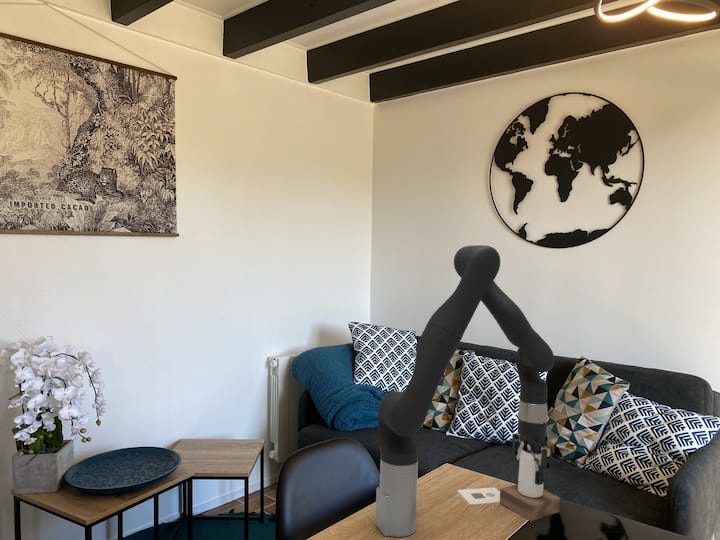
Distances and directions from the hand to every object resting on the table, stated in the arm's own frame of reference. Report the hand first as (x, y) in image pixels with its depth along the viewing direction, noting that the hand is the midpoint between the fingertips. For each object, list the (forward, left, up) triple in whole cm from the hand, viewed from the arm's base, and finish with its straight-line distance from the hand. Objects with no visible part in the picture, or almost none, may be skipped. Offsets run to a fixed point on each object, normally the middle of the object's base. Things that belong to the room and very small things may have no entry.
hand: (530, 478), depth 147 cm
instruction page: (-8, +10, -8) cm, 15 cm away
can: (0, 0, -4) cm, 4 cm away
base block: (0, 0, -8) cm, 8 cm away
